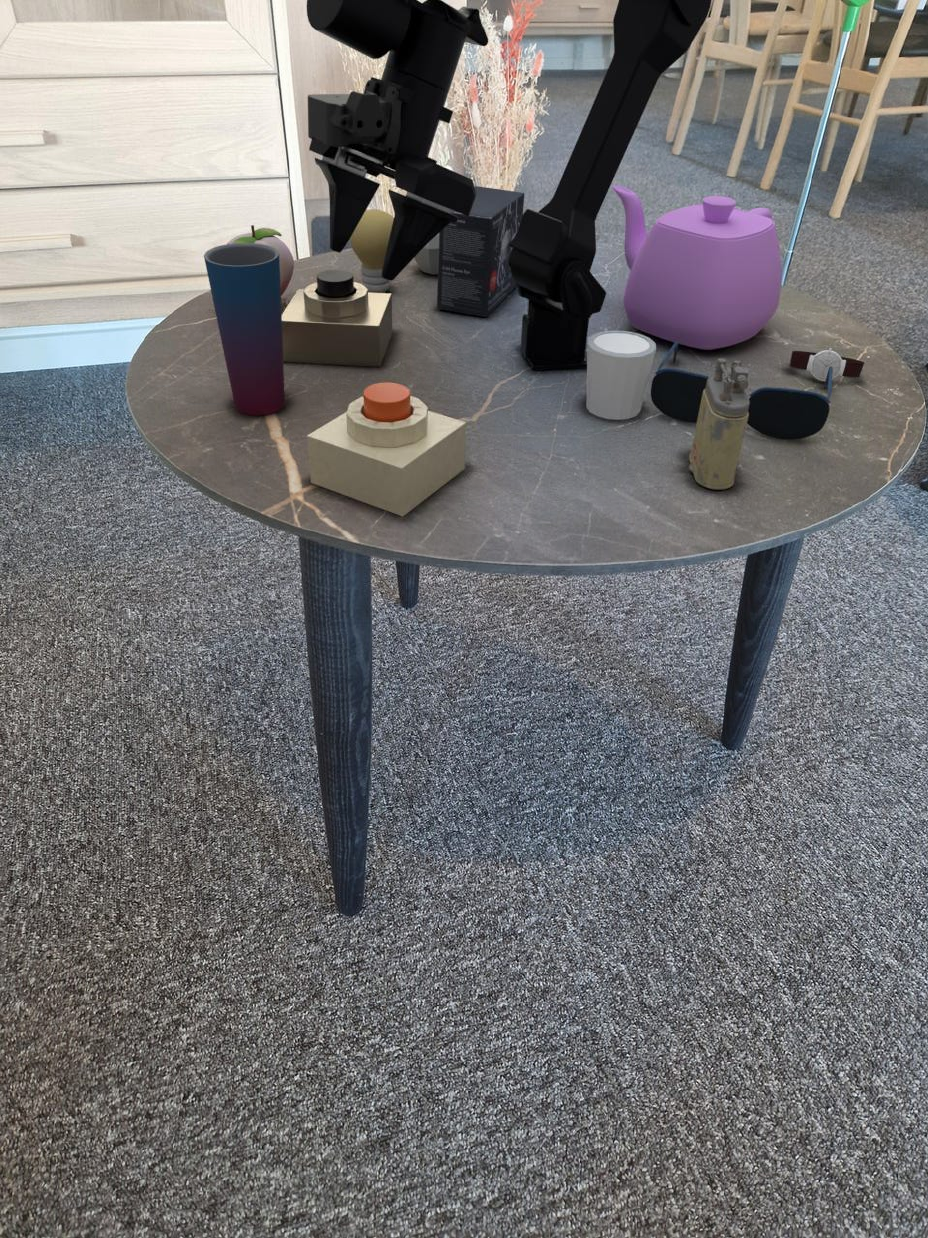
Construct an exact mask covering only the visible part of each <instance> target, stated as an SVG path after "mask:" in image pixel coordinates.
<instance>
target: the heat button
mask: <svg viewBox="0 0 928 1238" xmlns="http://www.w3.org/2000/svg"><path fill="white" fill-rule="evenodd" d="M316 282H317V289H318V295H320V296H323V297H329V298H342V297H348V296H351V295H353V294H354V282H355V281H354V274H353V273H352V272H351V271H348V270H343V269H327V270H323V271H319V272H318V273H317V274H316Z"/></svg>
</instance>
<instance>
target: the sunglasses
mask: <svg viewBox="0 0 928 1238" xmlns="http://www.w3.org/2000/svg"><path fill="white" fill-rule="evenodd" d="M678 349H679V344H678V342H673V344H672V346H671V347H670V349H669V350H668V352H667V353H666V355H665V357H664V358H663V359H662V361H661V363H660V364H659V366H658V368H657V371H655V372H654V374H655V375H654V376H653V378H652V381H651V386H650V398H651V399H650V400H651V402H652V404H653V405H654V406H655V408H657V410H659V412H661V413H662V414H663V415H665V416H667V417H669V418H671V419H673V420H678V421H681V422H686V423H692V424H693V423H694V424H695V423H696V424H697V419H698V414H699V409H700V404H701V399H702V394H703V390H704V389H705V388H706V383H707V380H708V378H709V377H710V376H708V375H705V374H701V373H697V372H693V371H687V370H683V369H677V368H669V367H667V368H666V367H665V368H663V366H664V365H665V364H666V362H667V361H668V359H669V358H670V357H671V355H672V353H673V359H672V364H675V363H676V360H677V354H678ZM832 375H833V367H832V366H830V367H829V370H828V373H827V377H826V381H824V385H823V388H824V389H826V388H827V396H826V395H824V394H821V393H819V392H816V391H815V392H814V391H810V390H803V389H795V388H794V389H793V388H786V387H783V388H782V387H773V386H771V387H770V386H764V387H759V388H757V389H755V390H754V391H752V392H751V393H750V394H749V397H748V399H749V402H750V404H749V408H748V413H749V416H748V421H747V425H748V426H749V427H750V428H752V430H755V431H757V432H758V433H760V434H762V435H764V436H767V437H770V438H774V439H778V440H779V439H780V440H803V439H806V438H809V437H811V436H814V435H815V434H818V433H819V432H820V431H822V429H823V427H824V426H825V425H826V423H827V420H828V418H829V414H830V403H831V401H830V398H831V394H832V388H833V387H832V386H833V379H832Z"/></svg>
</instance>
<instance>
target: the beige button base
mask: <svg viewBox="0 0 928 1238" xmlns="http://www.w3.org/2000/svg"><path fill="white" fill-rule="evenodd" d="M392 296H393V295H392V293H386V292H383V293H369V292H368V289H367V288H366V287H365V286H364V285H362V284H361V283H360V282H356V281H354V294H353V295H351V296H348V297H342V298H329V297H323V296H320V295H318V289H317V281H316V282H314V283H311V284H309V285H307V286H305V288H297V289H296V291H295V293H294V294H293V296H292V297H291V299H290V301H289V302H288V304H287V306H286V307H285V309H284V310H283V312H282V340H283V363H297V364H298V363H301V364H317V365H336V366H355V367H372V368H373V367H374V368H381V367H382V365H383V360H384V358H385V356H386V355H385V354H386V353H387V350H388V347H389V344H390V341H391V339H392V335H393V297H392Z"/></svg>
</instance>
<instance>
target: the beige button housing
mask: <svg viewBox="0 0 928 1238" xmlns="http://www.w3.org/2000/svg"><path fill="white" fill-rule="evenodd" d="M466 437H467V421H463V420H460V419H458V418H453V417H449V416H446V415H443V414H441V413H438V412H434V411H430V410H429V407H428V405H426V404H425V403H424V402H423V401H422V400H421V399H419V398H418V397H415V396H412V395H410V417H408V418H407V419H405V420H401V421H396V422H377V421H374V420H371V419H367V418H366V417H365V415H364V398H363V395H362V396H360V397H358V398H357V399H355V400H353V401H351V402H349V404H348V405H347V409H346V411H345V412H344V413H342V414H341V415H339V416H338V417H336V418H334V419H332V420H330V421H328V422H327V423H326V424H324V425H322V426H321V427H319V428H317V429H315V430H314V431H312V432H310V433H309V434H307V435H306V441H307V450H308V451H307V452H308V463H309V464H308V465H309V471H310V472H309V474H310V475H309V476H310V483H311V484H313V485H316V486H319V487H320V488H324V489H327V490H329V491H332V492H334V493H337V494H340V495H343V496H345V497H348V498H351V499H354V500H356V501H359V502H362V503H365V504H367V505H369V506H372V507H375V508H378V509H381V510H384V511H386V512H388V513H391V514H394V515H397V516H400V517H402V518H403V517H405V516H406V515H407V514H408V513H409V512H411V511H412V510H414V508H416V507H417V506H419V505H420V504H421V503H423V502H424V501H425V500H427V499H428V498H429V497H430V496H432V495H433V494H434V493H435V492H437V491H438V490H439V489H441V488H442V487H443V486H445V484H447V483H448V482H450V481H451V480H452V479H453V478H455V477H456V476H457V475H459V474H460V473H461V472H462V471H464V470H465V468H466V441H467V440H466Z"/></svg>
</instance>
